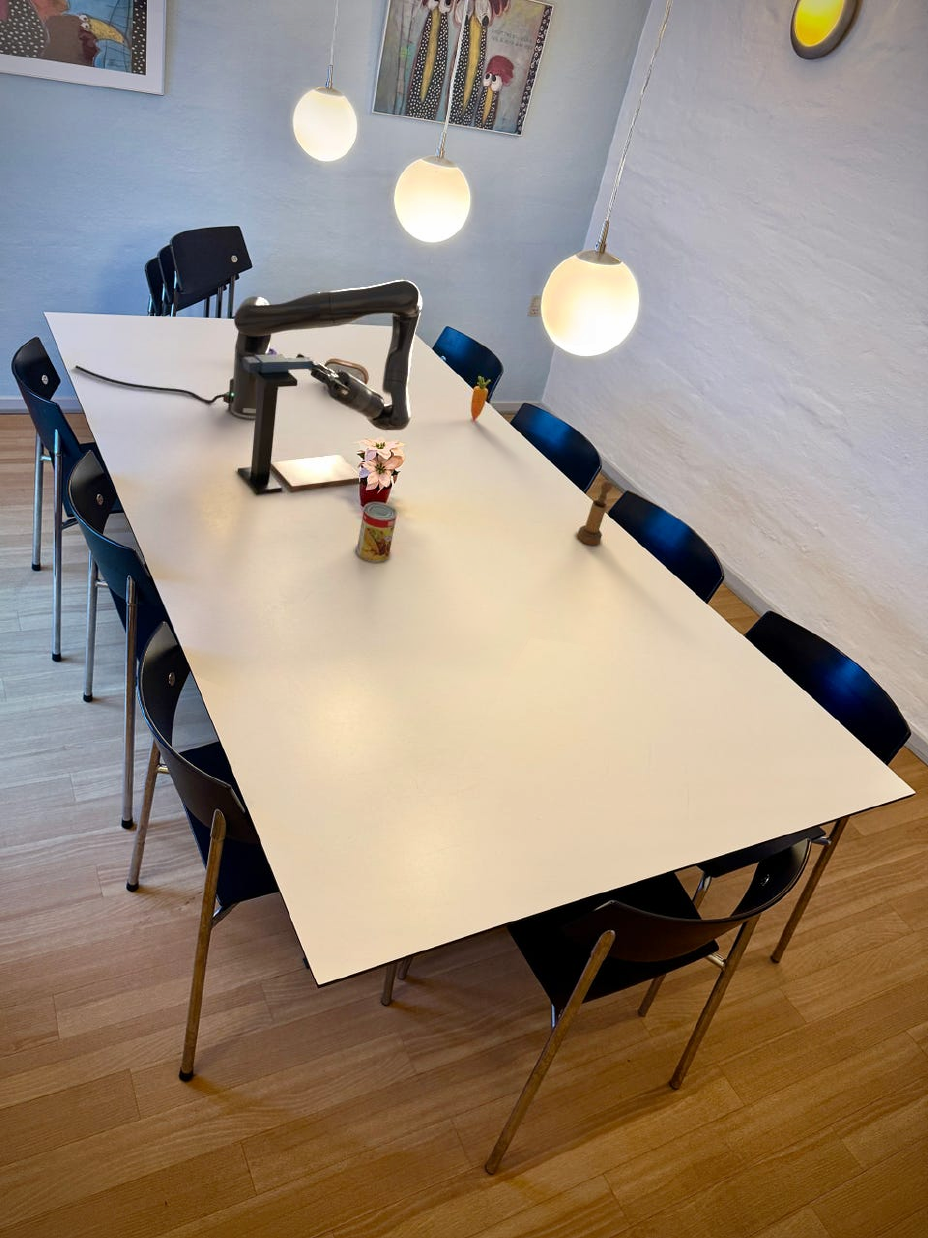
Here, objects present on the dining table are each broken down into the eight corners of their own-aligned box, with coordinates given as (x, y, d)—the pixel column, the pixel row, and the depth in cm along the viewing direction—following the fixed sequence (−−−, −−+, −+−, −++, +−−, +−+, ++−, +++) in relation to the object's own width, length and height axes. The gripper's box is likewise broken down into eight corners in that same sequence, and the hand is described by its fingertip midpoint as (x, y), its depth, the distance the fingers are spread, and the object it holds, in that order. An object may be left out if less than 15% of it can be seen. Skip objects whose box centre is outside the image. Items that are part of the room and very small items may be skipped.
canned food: (391, 562, 213) (400, 520, 206) (359, 561, 210) (367, 518, 203) (385, 544, 219) (393, 502, 212) (354, 543, 216) (361, 501, 209)
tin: (367, 390, 292) (370, 366, 287) (365, 394, 290) (368, 369, 285) (322, 379, 292) (325, 355, 287) (320, 382, 289) (323, 358, 284)
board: (338, 460, 249) (339, 455, 248) (361, 482, 241) (362, 477, 241) (270, 467, 237) (270, 462, 236) (291, 491, 230) (292, 486, 229)
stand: (262, 467, 236) (272, 356, 219) (285, 493, 228) (297, 380, 210) (234, 470, 232) (241, 357, 214) (256, 497, 224) (266, 381, 206)
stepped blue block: (310, 363, 220) (311, 353, 219) (318, 370, 218) (319, 360, 216) (242, 365, 210) (242, 355, 209) (249, 373, 207) (250, 363, 206)
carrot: (483, 420, 293) (494, 377, 284) (477, 424, 289) (487, 381, 281) (470, 415, 294) (480, 372, 286) (464, 419, 290) (474, 376, 282)
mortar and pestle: (575, 530, 245) (594, 473, 235) (597, 534, 247) (617, 477, 236) (579, 543, 240) (598, 485, 230) (601, 547, 241) (622, 489, 231)
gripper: (345, 368, 233) (300, 339, 220) (372, 391, 225) (327, 363, 212) (329, 392, 235) (283, 365, 222) (355, 416, 226) (309, 389, 214)
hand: (305, 364), depth 217 cm, fingers open, 8 cm apart
